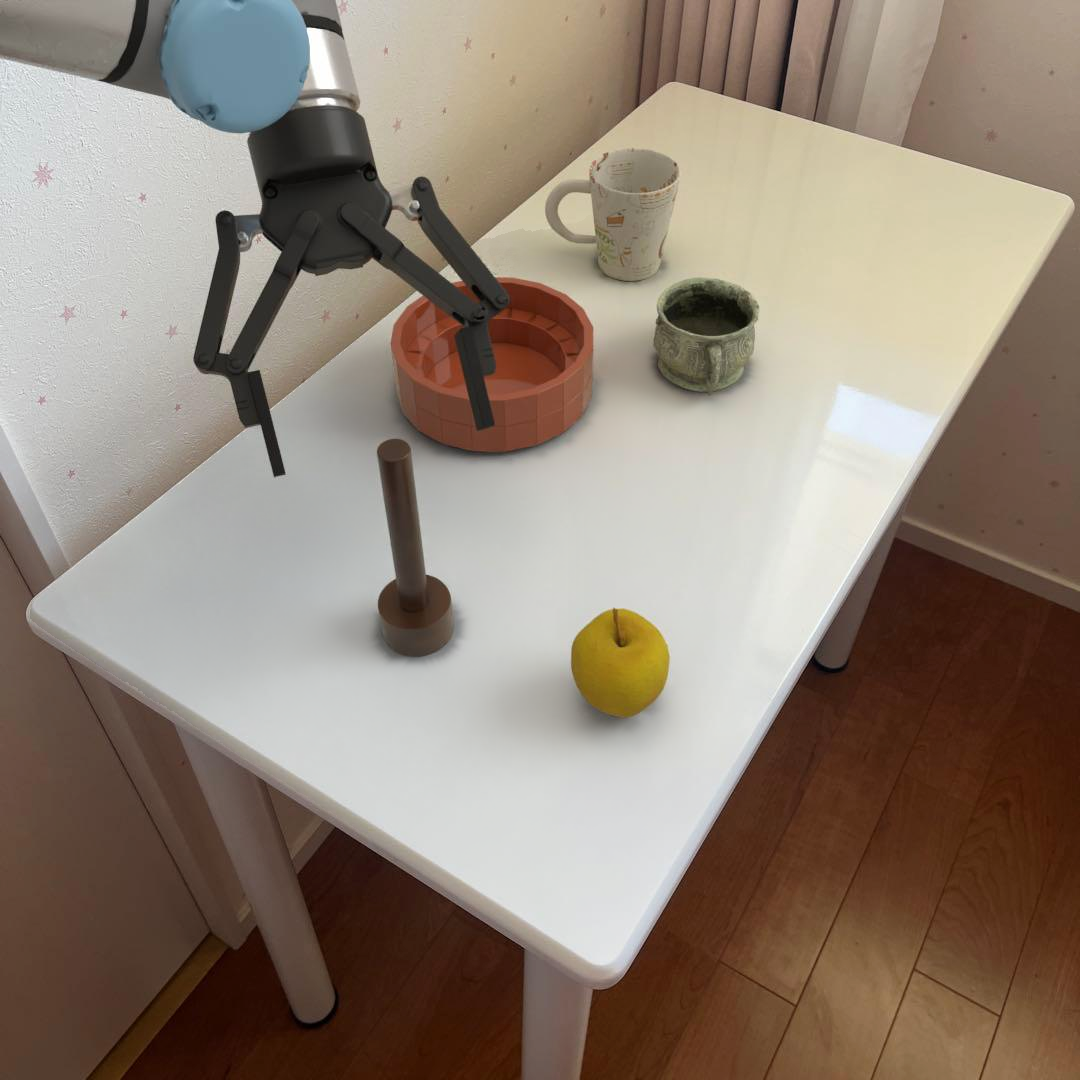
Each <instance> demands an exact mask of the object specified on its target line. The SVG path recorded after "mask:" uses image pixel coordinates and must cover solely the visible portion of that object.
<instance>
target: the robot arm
mask: <svg viewBox="0 0 1080 1080" xmlns="http://www.w3.org/2000/svg"><path fill="white" fill-rule="evenodd" d="M349 55H350V54H349V52H348V47H347V43H346V40H345V36H344V33H343V27H342V22H341V18H340V14H339V9H338V5H337V0H0V59H2V60H6V61H10V62H15V63H19V64H23V65H28V66H31V67H37V68H41V69H45V70H49V71H54V72H57V73H62V74H67V75H70V76H75V77H78V78H79V77H80V78H84V79H88V80H93V81H97V82H100V83H101V82H102V83H105V84H108V85H111V86H114V87H119V88H123V89H127V90H131V91H135V92H140V93H143V94H147V95H148V94H149V95H151V96H152V95H153V96H157V97H161V98H164V99H168V100H170V101H171V102H172V103H173V105H174V106H175V107H176V108H177V109H179V110H180V111H181V112H182V113H184V114H186V115H188V116H189V117H190V118H191V119H194V120H196V121H199V122H201V123H203V124H204V125H206V126H207V127H209V128H211V129H215V130H217V131H219V132H224V133H228V134H247V133H249V135H248V137H247V140H246V143H247V148H248V151H249V155H250V160H251V164H252V168H253V171H254V176H255V179H256V183H257V187H258V188H257V189H258V192H259V196H260V201H261V209H260V212H259V213H255V214H239V215H238V214H237V215H234V213H233V212H231V211H229V210H224V209H223V210H220V211H219V212H218V213H217V214H216V216H215V219H214V220H215V229H216V236H217V243H218V251H217V255H216V259H215V262H214V263H215V264H214V268H213V273H212V275H211V276H212V277H211V281H210V286H209V289H208V292H207V293H208V294H207V296H206V297H207V298H206V303H205V306H204V310H203V315H202V319H201V323H200V327H199V331H198V336H197V340H196V344H195V347H194V353H193V360H192V361H193V363H194V365H195V367H196V370H198V372H200V374H203V375H215V376H221V377H224V378H226V379H227V380H228V381H229V384H230V387H231V391H232V395H233V400H234V403H235V407H236V411H237V416H238V418H239V421H240V423H241V424H242V425H243V427H244V428H245V429H249V428H253V427H257V426H260V428H261V431H262V435H263V436H262V437H263V440H264V444H265V447H266V452H267V456H268V460H269V464H270V467H271V472H272V476H273V478H277V477H281V476H285V475H286V468H285V465H284V460H283V457H282V454H281V449H280V445H279V441H278V437H277V434H276V433H277V432H276V429H275V426H274V421H273V417H272V414H271V410H270V406H269V400H268V397H267V394H266V389H265V385H264V382H263V378H262V374H261V370H260V369H257V370H253V371H249V370H250V367H251V365H252V364H253V362H254V359H255V358H256V356H257V354H258V352H259V350H260V348H261V346H262V345H263V342H264V341H265V339H266V336H267V334H268V333H269V331H270V329H271V327H272V325H273V323H274V321H275V319H276V317H277V316H278V314H279V312H280V310H281V308H282V306H283V305H284V302H285V300H286V298H287V296H288V294H289V292H290V291H291V289H292V288H293V286H294V284H295V283H296V281H297V279H298V277H299V275H300V273H301V271H303V272H305V273H307V274H311V275H314V277H319V276H324V275H325V276H326V275H328V274H330V273H332V272H335V271H337V270H339V269H340V270H341V269H342V270H356V269H361V268H363V267H364V266H365V265H367V263H369V262H370V261H371V260H372V259H373V260H374V261H375V262H376V263H377V264H379V265H380V266H381V267H383V268H384V269H385V270H388V271H391V272H392V273H394V274H395V276H397V277H399V278H400V279H401V280H402V281H404V282H405V283H407V284H408V285H409V286H410V287H411V288H413V289H414V290H415V291H417V292H418V293H419V294H420V295H421V296H425V297H426V298H427V299H428V300H430V301H431V302H432V303H434V304H435V305H436V306H437V307H439V308H440V309H441V310H443V311H444V312H445V313H446V314H448V315H449V316H450V317H452V318H453V319H454V320H455V321H457V322H458V323H459V324H461V325H462V326H463V327H464V328H460V329H459V331H458V332H457V333H456V334H455V335H454V337H455V342H456V346H457V350H458V354H459V358H460V362H461V367H462V371H463V375H464V379H465V383H466V387H467V392H468V396H469V400H470V404H471V408H472V412H473V417H474V421H475V425H476V429H477V431H480V430H484V429H488V428H490V427H492V426H494V425H495V422H494V418H493V414H492V410H491V406H490V402H489V397H488V393H487V389H486V385H485V381H484V377H485V376H489V375H492V374H493V373H495V370H496V361H495V356H494V352H493V348H492V344H491V340H490V335H489V331H488V322H489V320H490V319H492V318H493V317H495V316H496V315H498V314H500V313H501V312H502V311H503V310H504V309H505V308H506V307H507V306H508V305H509V303H510V297H509V295H508V293H507V292H506V291H505V289H504V288H503V287H502V286H501V284H500V283H499V282H498V281H497V279H496V278H495V277H496V276H494V274H493V273H492V271H490V269H489V267H487V265H486V264H485V263H484V262H483V260H482V259H481V258H480V257H479V255H478V254H477V253H476V252H475V250H474V249H473V247H471V245H470V244H469V243H468V242H467V240H466V239H465V238H464V237H463V235H462V234H461V233H460V231H459V230H458V229H457V227H456V226H455V225H454V224H453V222H452V221H451V220H450V219H449V218H448V217H447V215H446V214H445V212H444V211H443V210H442V209H441V206H440V205H439V201H438V199H437V196H436V193H435V190H434V188H433V184H432V182H431V180H430V179H429V178H428V177H426V176H423V175H422V176H418V177H416V178H415V179H414V180H413V183H412V184H409V185H406V186H403V187H399V188H396V189H392V190H389V191H388V189H387V188H386V187H385V186H384V185H383V183H382V181H381V179H380V177H379V173H378V170H377V164H376V161H375V157H374V153H373V149H372V145H371V140H370V137H369V132H368V128H367V124H366V123H367V122H366V120H365V117H364V116H363V115H361V114H360V113H359V112H358V110H359V109H360V105H361V97H360V94H359V91H358V90H359V89H358V86H357V83H356V79H355V75H354V71H353V67H352V64H351V60H350V56H349ZM393 211H399V212H401V213H402V214H403V215H404V216H405V219H407V220H408V221H411V222H417V224H418V225H419V227H420V229H421V231H422V232H423V234H424V235H425V237H427V239H428V240H429V241H430V243H431V244H432V245H433V246H434V248H435V249H436V250H437V251H438V252H439V254H440V255H441V256H442V257H443V258H444V260H445V261H446V262H447V263H448V265H449V266H450V267H451V269H452V270H453V271H454V272H455V273H456V275H457V276H458V278H460V281H463V282H464V283H465V285H466V286H467V287H468V288H469V290H470V291H471V292H472V293H473V295H474V296H475V297H476V298H477V300H478V301H479V302H480V303H478V304H477V303H476V302H475V301H474V300H472V299H471V298H470V297H469V296H467V295H466V294H465V293H463V292H462V291H461V290H460V289H458V288H457V287H456V286H455V285H453V284H452V283H453V282H451V281H449V280H448V279H447V278H446V277H444V276H443V275H442V274H440V273H439V272H438V271H437V270H435V269H434V268H433V267H432V266H431V265H429V264H428V263H427V262H425V261H424V260H423V259H421V258H420V257H419V256H418V255H416V254H415V253H414V252H413V251H412V250H410V249H409V248H407V247H406V246H405V244H404V243H403V241H401V239H399V238H398V237H397V236H396V235H394V234H393V233H392V232H390V231H389V230H388V229H387V228H386V227H387V225H388V222H389V220H390V218H391V215H392V212H393ZM261 234H262V236H263V237H264V238H265V239H266V240H267V241H268V242H270V244H272V245H273V246H274V247H275V248H276V249H277V250H279V251H280V254H279V256H278V258H277V259H276V262H275V264H274V266H273V269H272V271H271V273H270V275H269V277H268V279H267V281H266V283H265V285H264V287H263V289H262V290H261V292H260V294H259V295H258V296H259V297H258V298H257V300H256V302H255V304H254V306H253V308H252V310H251V312H250V313H249V316H248V317H247V318H246V321H245V323H244V325H243V326H242V328H241V331H240V333H239V334H238V336H237V338H236V340H235V342H234V344H233V346H232V348H231V350H230V351H229V353H223V352H221V348H222V344H223V339H224V335H225V330H226V326H227V322H228V319H229V313H230V310H231V306H232V305H231V304H232V302H233V301H232V300H233V297H234V292H235V288H236V284H237V279H238V275H239V271H240V267H241V266H240V265H241V253H245V252H248V251H249V250H250V249H252V246H253V240H254V238H255V237H256V236H258V235H261Z"/></svg>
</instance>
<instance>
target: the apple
mask: <svg viewBox="0 0 1080 1080" xmlns="http://www.w3.org/2000/svg"><path fill="white" fill-rule="evenodd" d="M570 649H571V650H570V666H571V673H572V677H573V680H574V683H575V685H576V688H577V689H578V691H579V693H580V694H581V696H582V697H583V699H584V700H585V701H586V702H587V703H588V704H589V705H590V706H591V707H593V708H595V709H597V710H599V711H600V712H602V713H604V714H606V715H611V716H614V717H619V718H631V717H634V716H636V715H638V714H641V713H642V712H644V711H645V710H647V709H648V708H649V707H650V706H651V705H652V704H653V703H654V702H655V701H657V699H658V698H659V696H660V695H661V693H662V692H663V691H664V688H665V685H666V683H667V680H668V675H669V668H670V660H671V659H670V658H671V655H670V652H669V645H668V644H667V642H666V639H665V638H664V636H663V634H662V633H661V632H660V630H659V629H658V628H657V627H656V626H655V625H654V624H653V623H652V622H651V621H649V620H648V619H646V618H645V617H644V616H642V615H640V614H639V613H637V612H635V611H633V610H630V609H627V608H615V607H613V608H611V609H608V610H605V611H603V612H601V613H600V614H598V615H597V616H596V617H594V618H592V620H591V621H589V622H588V623H587V624H586V625H585V626H584V627H583V628H581V630H579V632H578V633H577V634H576V636H575V637H574V639H573V641H572V645H571V648H570Z"/></svg>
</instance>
